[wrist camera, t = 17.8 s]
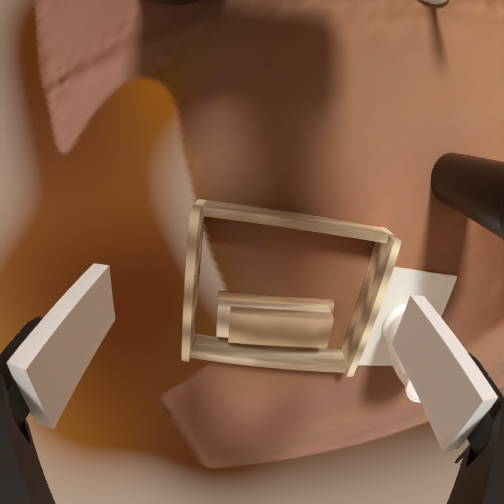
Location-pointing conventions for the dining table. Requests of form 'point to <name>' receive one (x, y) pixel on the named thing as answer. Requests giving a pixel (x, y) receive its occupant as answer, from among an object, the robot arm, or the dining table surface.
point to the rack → (286, 355)
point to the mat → (398, 294)
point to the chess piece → (435, 1)
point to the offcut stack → (274, 320)
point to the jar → (389, 333)
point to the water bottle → (472, 188)
